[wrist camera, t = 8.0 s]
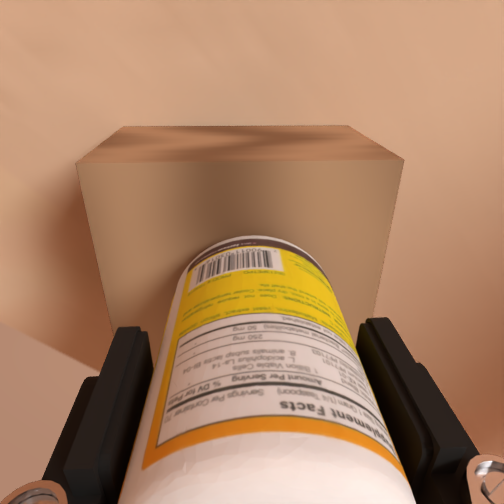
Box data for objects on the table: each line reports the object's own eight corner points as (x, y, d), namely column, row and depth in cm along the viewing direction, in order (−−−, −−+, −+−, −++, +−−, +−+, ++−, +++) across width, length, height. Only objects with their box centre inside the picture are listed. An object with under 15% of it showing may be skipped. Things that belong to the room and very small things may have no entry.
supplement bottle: (264, 374, 15) (295, 828, 6) (147, 308, 14) (-34, 805, 5) (362, 285, 13) (608, 764, 4) (240, 194, 12) (238, 683, 3)
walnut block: (347, 125, 17) (404, 159, 12) (325, 304, 22) (358, 386, 16) (123, 126, 16) (75, 163, 11) (151, 310, 21) (127, 397, 16)
